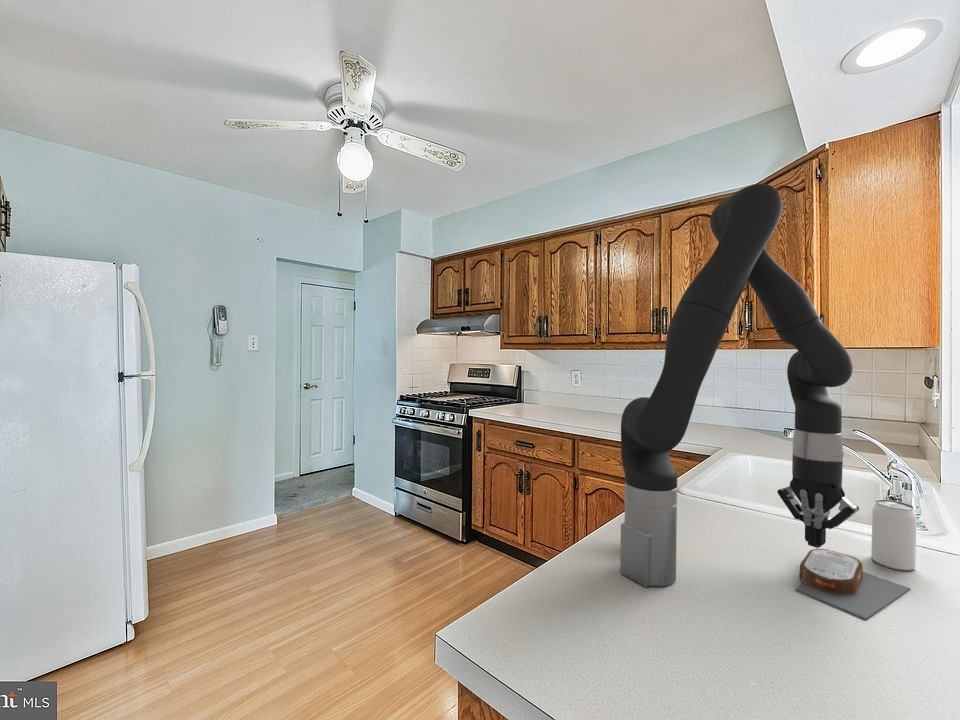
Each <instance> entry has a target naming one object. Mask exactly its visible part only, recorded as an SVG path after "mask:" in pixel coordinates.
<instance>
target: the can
mask: <svg viewBox="0 0 960 720" xmlns="http://www.w3.org/2000/svg"><path fill="white" fill-rule="evenodd" d="M914 509H915V507H914V506H913V505H911V504H909V503H906V502H903V501H902V502H901V501H898V500H892V499H883V498H882V499H880V498H879V499H876V500H875V503H874V505H873V507H872V514H871V515H872V518H871V520H872V521H871V522H872V523H871V551H870V552H871V553H870V554H871V559H873V561H874V563H876V564H878V565H880V566H883V567H886V568H888V569H892V570H896V571H902V572H904V571H905V572H910V571H913V570H914V569H916V564H917V563H916V561H917V559H916V558H917V527H918V525H917V524H918V518H917V514H916V512H915V510H914Z"/></svg>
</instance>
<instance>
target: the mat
mask: <svg viewBox="0 0 960 720" xmlns="http://www.w3.org/2000/svg"><path fill="white" fill-rule="evenodd" d="M862 575H863V579H862V582H861V584H860V587H859V589H858V592H857V593H856V594H854V595H847V596H845V595H836V594H831V593H827V592H823V591H821V590H818V589H815V588H813V587H811V586H809V585H807V584H806V583H804V584H802V585H799V586H797V587H796V588H795V591H796V592H798V593H801V594H804V595H806V596H807V597H810V598H813V599H815V600H818V601H820V602H822V603H823V604H826V605H827V604H828V605H830V606H832V607H834V608H836V609H839V610H841V611H844V612H846V613H848V614H851V615H853V616H856V617H858V618H859V619H863V620H864V621H867V620H869V619H870V618H872V617H873V616H875V615H876V614H878V613H879V612H881V611H882V610H884V609H885V608H886V607H888V606H890V604H892V603H894V601H896V600H898V599H899V598H900V597H902V596H904V595H905V594H906V593H908V592H910V591H911V587H909V586H905V585H902V584H900V583H896V582H893V581H890V580H888V579H885V578H884V577H880V576H877V575H874V574H871V573H868V572H865V571H862Z"/></svg>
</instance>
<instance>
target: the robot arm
mask: <svg viewBox="0 0 960 720" xmlns="http://www.w3.org/2000/svg"><path fill="white" fill-rule="evenodd" d="M782 211H783V201H782V197H781V195H780V193H779V192H778V190H777V189H776V188H775V187H774V186H772V185H771V184H767V183H755V184H752V185H748V186H745V187H743V188H741V189H739V190H738V191H736V192H734V193H733V194H732V195H730V196H729V197H727V198H726V199H724V200H723V201H721V202H720V203H718V204H717V205H716V206H715V207H714V209H713V210H712V212H711V215H710V218H709V219H710V220H709V226H710V229H711V232H712V234H713V237H715V239H716V241H717V242H718V243H717V245H716V248H715V250H714V251H713V253H712V254H711V256H710V258H709V259H708V260H707V262H706V263H705V264H704V266H703V267H702V269H701V270H700V271H699V272H698V273H697V274H696V276H695V277H694V278H693V280H692V281H691V282H690V284H689V286H688V287H687V288H686V290H684V293H683V295H682V296H681V298H680V300H679V302H678V304H677V307H676V309H675V311H674V312H673V316H672V317H671V320H670V323H669V325H668V329H667V333H666V337H665V338H666V341H665V351H664V352H665V353H664V363H663V367H662V370H661V374H660V376H659V379H658V381H657V382H656V385H655V387H654V389H653V391H652V393H651V394H650V397H647V396H646V397H645V396H644V397H637V398H635V399H633V400H631V401H630V402H629V403H628V404H627V405H626V406H625V408H624V410H623V412H622V414H621V419H620V420H621V421H620V450H621V451H620V452H621V453H620V454H621V464H622V467H623V471H624V518H623V519H624V520H623V521H624V522H622V523H620V544H619V545H620V546H619V547H620V551H619V552H620V559H619V560H620V562H619V564H620V565H619V566H620V567H619V573H620V574H622V575H624V576H625V577H627V578H629V579H631V580H632V581H635V582H636V583H637V584H640V585H641V586H643V587H645V588H648V587H667V586H671V585H673V584H674V583H675V582H676V580H677V578H676V577H677V537H678V536H677V535H678V534H677V529H678V522H677V520H678V473H677V470H676V469H675V467H674V465H673V463H672V460H671V457H670V452H669V451H671V450H673V449H674V448H676V447H677V446H678V445H679V444H680V443H681V442H682V440H683V438H684V437H685V433H686V431H687V429H688V426H689V424H690V420H691V416H692V413H693V410H694V407H695V404H696V402H697V398H698V395H699V393H700V392H699V391H700V388H701V387H702V383H703V382H704V379H705V376H706V375H707V374H708V371H709V369H710V367H711V364H712V361H713V360H714V357H715V355H716V352H717V351H718V347H719V346H720V344H721V341H722V340H723V338H724V336H725V333H726V331H727V329H728V328H729V327H728V326H729V324H730V322H731V319H732V317H733V314H734V312H735V311H736V310H735V309H736V307H737V305H738V303H739V300H740V298H741V296H742V294H743V291H744V290H745V287H746V286H747V285H746V284H747V283H748V284H749V286H750V287H751V288H752V290H753V292H754V293H755V295H756V297H757V298H758V299H759V301H760V304H761V305H762V306H763V309H764V311H765V313H766V314H767V316H768V319H769V320H770V323H771V324H772V327H773V328H774V330H775V332H776V333H775V334H776V335H777V336H778V338H779V339H780V340H781V341H782V342H783V343H785V344H787V345H790V346H793V347H794V348H795V349H796V350H797V351H796V352H794V353H793V354H792V355H791V356H790V359H789V361H788V363H787V368H786V374H787V375H786V377H787V381H788V385H789V390H790V394H791V397H792V398H791V399H792V401H793V404H794V409H795V411H794V430H793V431H794V432H793V437H792V456H791V457H792V458H791V459H792V463H791V464H792V465H791V466H792V467H791V468H792V469H791V470H792V471H791V472H792V473H791V474H792V478H791V481H790V482H789V486H787V487H784V488H783V487H782V488H780V489H778V490H777V495H778V496H779V497H780V499H781V500H782V502H783V503H784V505H785V506H786V507H787V509H788V510H789V512H790V513H791V515H792V516H793V518H794V519H795V520H799V521H801V522H802V523H803V524H804V540H805V542H807V545H808V546H810V547H812V548H815V549H820V548H821V547H822V546H824V545H825V544H826V543H827V541H826V539H827V537H826V536H827V529H828V530H832V529H834V528H836V527H839V526H840V525H841V524H843V523H844V522H846V520H848V519H849V518H850V517H852V516H854V515H855V514H856V513H857V512H858V511H859V510H860V507H859V505H857V504H855V503H851V501H850V500H849V499H847V498H846V497H845V496H846V493H845V491H844V489H843V487H842V485H843V459H844V456H845V455H844V445H843V444H844V443H843V438H842V437H843V436H842V425H843V423H842V422H843V420H842V419H843V416H842V407H841V405H840V404H839V402H837V401H835V400H834V399H832V398H830V397H829V394H828V390H827V388H835V387H836V388H837V387H840V386H843V385H844V384H846V383H847V382H848V381H849V380H850V378H851V377H852V374H853V369H854V368H853V362H852V361H853V360H852V359H851V356H850V354H849V353H848V351H847V349H846V347H844V345H842V343H841V341H840V340H838V339H837V337H836V336H835V335H834V334H833V333H832V331H830V330H829V328H827V326H825V325H824V323H823V322H822V321H821V318H820V315H819V314H818V312H817V310H816V308H815V306H814V304H813V302H812V300H811V298H810V296H809V295H808V293H807V292H806V290H805V289H804V287H803V286H802V285H801V284H800V283H799V282H798V280H796V279H795V277H793V276H792V275H790V273H788V271H786V270H785V269H784V268H783V267H782V266H780V264H778V263H777V262H776V261H775V260H774V258H773V257H772V255H771V254H770V252H769V251H768V250H767V248H766V245H767V243H768V242H769V240H770V239H771V237H772V235H773V233H774V231H775V230H776V228H777V227H778V225H779V222H780V220H781V216H782V213H783V212H782ZM797 499H798V500H797ZM800 503H801V504H800ZM838 504H839V505H838ZM836 506H838V510H839V512H838V513H837V514H835V515H834V516H833V517H831V518H830V519H829V515H831V510H833V509H834V508H835V507H836Z"/></svg>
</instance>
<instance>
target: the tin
mask: <svg viewBox="0 0 960 720" xmlns="http://www.w3.org/2000/svg"><path fill="white" fill-rule="evenodd" d="M800 562H801V563H800V565H799V574H798V577H799V579H800V580H801V582H803V583H804V584H805V583H806V584H807V585H809V586H811V587H813V588H815V589H818V590H821V591H823V592H827V593H831V594H836V595H845V596H847V595H854V594H856V593H857V592H858V589H859V587H860V584H861V582H862V579H863V575H862V571H863V570H864V569H863V564H862V562H861V561H860V560H859V559H858V558H856V557H854V556H852V555H850V554H845V553H841V552H838V551H834V550H831V549H826V548H813V549H811V550H809V551H808V552H807V554H806V555H805V557H804V558H803V559H802V561H800ZM863 572H864V571H863Z"/></svg>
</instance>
